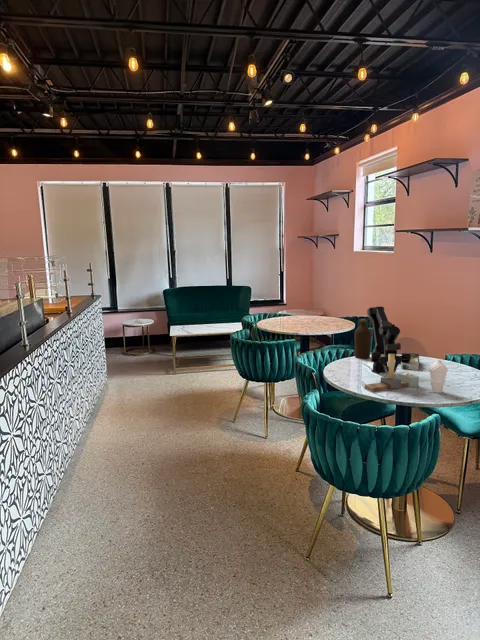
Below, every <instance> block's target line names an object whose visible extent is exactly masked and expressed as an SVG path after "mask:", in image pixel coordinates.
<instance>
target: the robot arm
mask: <svg viewBox="0 0 480 640" xmlns="http://www.w3.org/2000/svg"><path fill="white" fill-rule="evenodd" d="M366 314H367V316H368V320H369V321H370V322H371V323H372V330H373V337H374V344H375V345H374V346H375V347H374V348H373V350H372V352H371V353H370V360H371V363H373V364H372V369H371V372H374V373H377V374H384V373H388V354H389V353H393V354H395V366H394V374H395V373H397V372H396V371H397V370H398V369H397V368H398V366H399V365H402V364H401V362H402V363H410V359H411V355H410V354H409V352H401V355H398V351H400V350H401V349H402V347H401V346H402V345H401V343H400V342H397V343H396V341H397V340H398V337H399V335H400V333H401V329H400V328H399V327H398V326H396V325H395V324H393V323H392V322H390V321H389V320H388V317H387V314H386V312H385V307H384V306H382V305H381V306H379V305H378V306H371V307H368V308H367V311H366Z"/></svg>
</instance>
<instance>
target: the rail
mask: <svg viewBox="0 0 480 640" xmlns="http://www.w3.org/2000/svg"><path fill="white" fill-rule="evenodd" d="M406 387H408V383H407V382H405V381H402V380H401V387H397V388H390V385H389V384H387V383H384V382H381V381H380V382H375V383H368V384H364V390H367V391H369V392H371V393H374V392H376V393H377V392H382V391H387V390H388V391H389V390H394V389H400V388H401V389H402V388H406ZM408 388H409V387H408Z"/></svg>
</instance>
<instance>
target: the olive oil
mask: <svg viewBox="0 0 480 640" xmlns="http://www.w3.org/2000/svg"><path fill="white" fill-rule="evenodd" d="M359 322H360V323H359V324H360V325H359V326H358V327H357V328H356V329H355V331H354V333H353V334H354V338H353V339H354V358H356V359H359V360H361V359H362V360H368V359H371V346H372V331H371V330H370V328H369V327H368V326H367V322H366V319H365V318H361V319H360V320H359Z"/></svg>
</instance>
